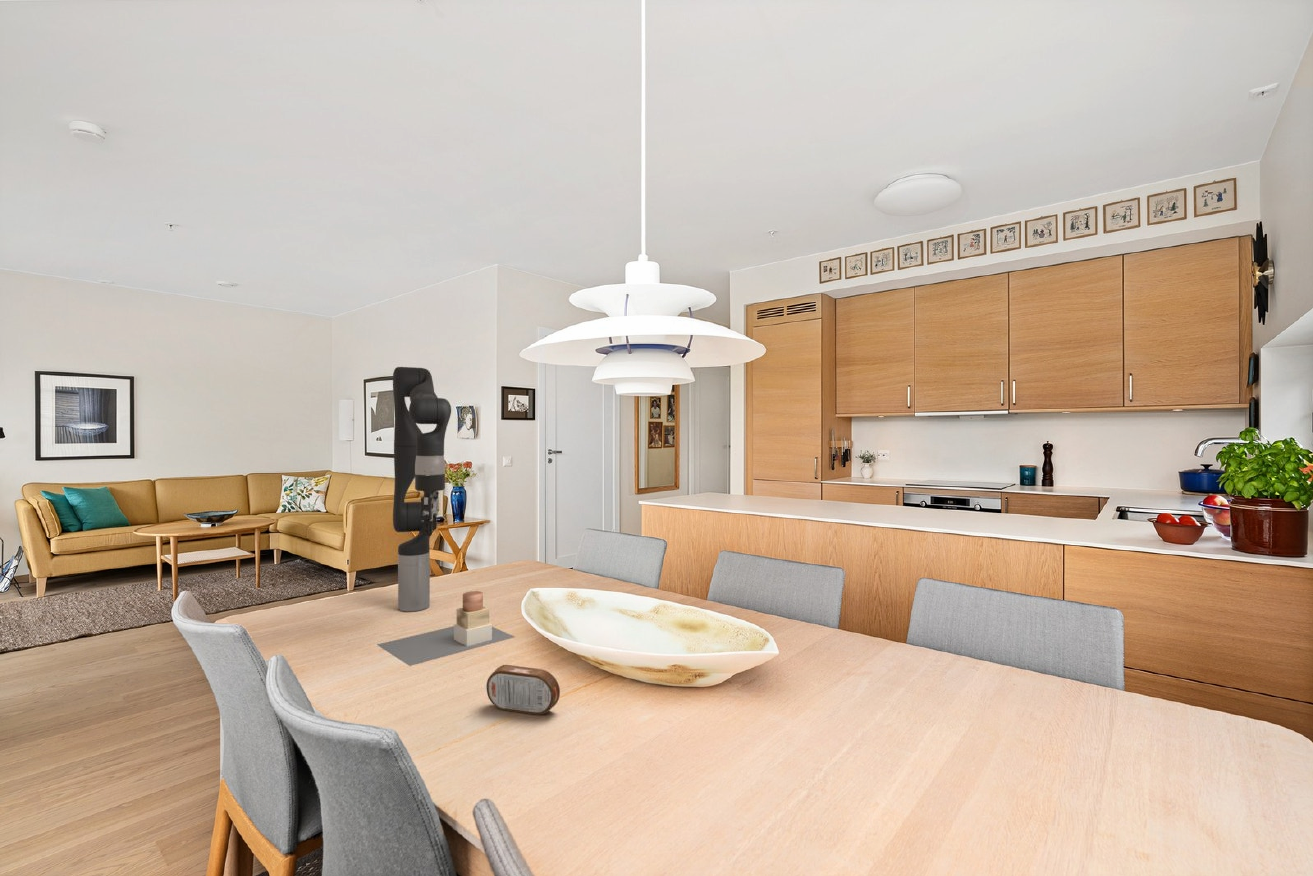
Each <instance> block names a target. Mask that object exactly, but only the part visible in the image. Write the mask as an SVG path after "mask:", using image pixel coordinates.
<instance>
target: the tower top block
mask: <svg viewBox="0 0 1313 876" xmlns="http://www.w3.org/2000/svg"><path fill="white" fill-rule="evenodd" d="M489 623H490V608H487V607H485V606H483V609H482V610H479V611H474V612H466V611H463V607H460V608H456V624H457V625H459V626H461V627H463V628H465V629H472V628H476V627H480V626H484V625H489Z"/></svg>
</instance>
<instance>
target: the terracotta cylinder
mask: <svg viewBox="0 0 1313 876" xmlns="http://www.w3.org/2000/svg"><path fill="white" fill-rule="evenodd" d="M483 595H484V593H483V592H482V591H479V590H473V591H472V590H470V591H466V592H463V593H462V608H463V611H466V612H474V611H479V610H482V609H483V607H484V605H483V604H484V602H483V601H484V599H483V598H484V597H483Z"/></svg>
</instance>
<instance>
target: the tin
mask: <svg viewBox="0 0 1313 876" xmlns="http://www.w3.org/2000/svg"><path fill="white" fill-rule="evenodd" d="M486 693H487V698H488V699H489V701H490V703H491V704H493V706H495V707H496V708H498V709H500V710H501V711H507V712H514V713H515V712H516V713H522V714H528V715H534V716H535V715H536V716H542V715H545V714H547V713H548V712H549V711H551V710H552V708H554V707H555V706H556V704H558V701H559V699H560V696H561V695H560V694H561V688H560V685H559V683H558V681H557V679H556V678H555V676H554V675H553V674H552V673H551V672H549V671H547V670H545V669H542V668H536V667H527V666H521V665H520V666H519V665H512V664H504V665H500V666H498V667H497V668H495V670H494V671H493V672H492V673H491V674H490V675H489V677H488V678H487V680H486Z"/></svg>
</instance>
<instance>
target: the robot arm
mask: <svg viewBox="0 0 1313 876" xmlns="http://www.w3.org/2000/svg"><path fill="white" fill-rule="evenodd" d="M392 392H393V393H392V394H393V395H392V396H393V407H394V409H393V411H394V433H393V435H394V437H393V465H394V488H393V509H392V525H393V529H394V531H395V532H397V533H407V532H408V533H410V532H418V534H417V535H416V536H415V537H413V538H412V539H409V540H406V541H404V542H402V543H400V544H398V546H397V547H398V548H397V581H398V582H397V595H398V596H397V601H398V603H397V609H398V611H401V612H417V611H423V610H426V609H428V608H429V607H430V606H431V604H430V603H431V600H430V598H431V597H430V596H431V595H430V594H431V590H430V588H431V583H430V582H431V581H430V580H431V576H430V575H431V570H430V569H431V568H430V567H431V566H430V564H431V563H430V562H431V561H430V557H431V556H430V553H431V552H430V537H431V536H432V535H433V531H435V530H436V529H437V528H438V514H439V511H440V508H439V507H440V506H439V505H440V503H439V501H440V500H439V499H440V497H439V494H440V492H439V491H444V490H445V489H446V461H445V437H446V432H447V427H448V424H449V421H450V419H451V415H452V406H451V403H450V401H448V399H446V398H442V397H438V395H437V394H436V392H435V387H434V382H433V377H432V374H431V371H430V370H429V369H427V368H424V367H415V366H414V367H412V366H410V367H409V366H397V367H395V368H394V370H393V374H392ZM406 398H409V400H410V402H409V407H408V406H407V403H406ZM418 425H435V428H434V429H433V430H432V431H428V432H422V429H421V428H420V427H419V426H418ZM413 481H414V489H415V490H416V491H417V492H423V496H421V497H420V501H407V502H406V501H405V500H406V499H405V498H406V496H407V492H408V490H409V488H410V487H411V484H412V483H413Z"/></svg>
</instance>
